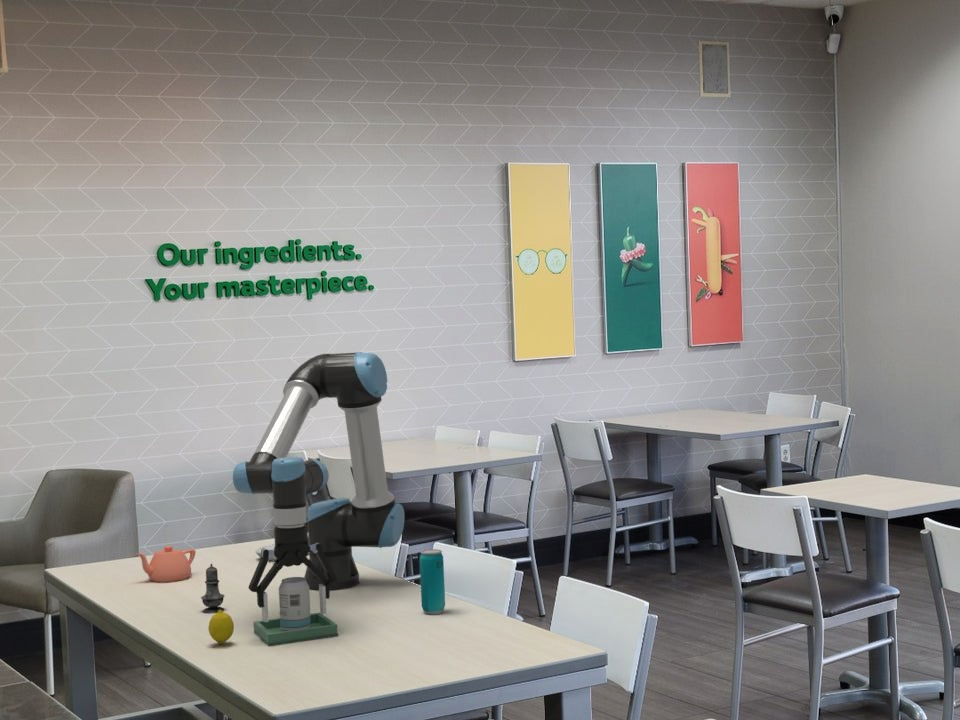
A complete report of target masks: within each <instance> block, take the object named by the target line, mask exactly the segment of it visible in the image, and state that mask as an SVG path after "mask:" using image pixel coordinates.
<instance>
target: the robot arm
mask: <svg viewBox="0 0 960 720" xmlns="http://www.w3.org/2000/svg"><path fill="white" fill-rule="evenodd" d="M387 383H388V375H387V370H386V367H385V365H384V362H383V360H382V359H381V358H380V357H379V356H378V354H375V353H372V352H361V351H357V352H341V353H321V354H318V355H314V356H313V357H311V358H308V359H307V360H306V361H304V362H303V363H302V364H301V365H299V366H298V367H297V368H296V369H295V370H294V371H293V372H292V374H291V375H290V376H289V377H288V379H287V380H286V382H285V384H284V386H283V390H282V393H283V396H282V399H281V401H280V402H279V404H278V406H277V408H276V410H275V412H274V414H273V416H272V418H271V421H270V422H269V424H268V426H267V428H266V429H265V431H264V433H263V436H262V437H261V440H260V441H259V443H258V445H257V446H256V449H255V451H254V452H253V455H252V456H251V458H250V459H249V461H246V460H245V461H242V462H241V461H240V462H239V463H237V464H236V465H235V467H234V468H233V471H232V484H233V485H234V488H235V490H236V491H237V492H239V493H242V494H252V495H255V494H272V498H273V499H272V501H273V504H272V505H273V524H274V525H275V527H274V528H273V530H274V544H275V547H274V549H265V548H263V549H262V550H261V558H259V562H258V563H257V566H256V568H255V571H254V572H253V575H252V578H251V580H250V582H249V584H248V587H247V588H248V590H250V592H251V593H256V603H257V606H258V607H259V609H260V608H261V617H262V618H261V619H262V620H263V621H264V622H269V621H268V620H269V601H268V592H266V590H267V588H268V587H269V585H270V584H271V583H272V581H273V580H274V579H275V577H276V576H277V574H278V573H279V572H280V570H282V568H283V567H287V568H288V567H293V566H296V567H297V566H298V567H299V566H301V565H302V564H304V565H305V567H306V569H305V573H304V578H306V581H307V583H308V585H309V590H310V589H311V590H317V591H318V592H319V593H318V597H319V613H321V614H323V615H327V600H328V599H330V595H331V594H330V592H331V591H330V590H339V589H340V590H341V589H346V588H350V587H354V586H357V585H359V584H360V573H359V570H358V567H357V565H356V562H355V559H354V557H353V548H358V547H359V548H379V549H382V548H392V547H394V546H396V545H397V544H398V543H399V541H400V539H401V537H402V535H403V532H404V527H405V509H404V507H403V505H402V504H400V503H396V500H395V496H394V494H393V493H392V492H390V491H389V490H388V489H389V488H388V481H387V475H386V466H385V461H384V460H385V459H384V453H383V452H384V451H383V444H382V438H381V436H382V435H381V429H380V422H379V421H380V420H379V415H378V414H379V413H378V406H379V405H380V404H381V402H382V400H383V398H382V397H384V396H385V394H386V393H387V390H388V384H387ZM326 398H327V399H329V398H331V399H332V398H334V399H335V398H336V400H337V407H338V408H339V409H340V410H342V411H344V417H345V424H346V431H347V438H348V446H349V453H350V460H351V467H352V474H353V475H352V476H353V481H354V488H355V490H354V491H355V496H354V497H353V498H352V500H351V499H350V498H349V497H342V498H341V497H339V498H333V499H327V500H322V501H318V502H315V503H313V504H311V505H310V506H308V508H307V495H309V494H313V493H316V492H318V491H320V490H321V489H323V488H325V486H326V485H327V484H328V481H329V475H330V474H329V470H328V468H327V466H326V465H325V464H324V462H322V461H320V460H317V459H308V460H306V461H304V459H303V458H302V457H300V456H299V457H298V456H288V454H289V453H290V451H291V448H292V447H293V444H294V442H295V440H296V439H297V436H298V434H299V433H300V430H301V428H302V426H303V424H304V422H305V420H306V418H307V416H308V414H309V412H310V410H311V409H313V408H315V407H316V406H317V405H318V404H319V403H318V402H319V400H321V399H326ZM306 523H307V524H306ZM308 536H309V538H308ZM273 554H274V555H275V557H276V558H277V559H276V561H273V564H272V566H271V567H270V568H269V570H268V571H267V573H266V575H264V571H265V569H266V567H267V565H268V562H269V561H268V559H270V558H271V556H272V555H273ZM308 555H309V558H308ZM263 575H264V577H263ZM262 577H263V578H262ZM261 579H262V580H261ZM262 620H261V621H262Z"/></svg>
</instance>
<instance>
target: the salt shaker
mask: <svg viewBox="0 0 960 720" xmlns="http://www.w3.org/2000/svg"><path fill="white" fill-rule="evenodd" d="M209 565H210V566H209V567H208V568H206V570H205V581H204V583H205V589H206V591H205V594H204V595H202V596H201V597H200V599H201V601H202V605H204V606H205V608H204V609H203V610H202V613H205V614H216V613H217V612H218V611H219V610H220V609H221V610H222V611H223V612H224V610H225V609H224V607H223V606H221V605H222V604H223V603H224V598H225V594H222V593H220V590H219V589H220V588H219V582H220V580H219V578H218V576H219V575H218V568H217V567H216V566H215V567H214V566H213V563H210V564H209Z"/></svg>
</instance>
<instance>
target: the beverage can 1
mask: <svg viewBox="0 0 960 720" xmlns="http://www.w3.org/2000/svg"><path fill="white" fill-rule="evenodd" d="M278 596H279V597H278V602H279V618H280V628H281V629H282V630H283V631H290V630H297V629H304V628H310V627H311V618H310V614H311V601H310V599H311V598H310V589H309V585H308V583H307V581H306V578H304V577H302V576H301V577H300V576H293V577H291V576H290V577H285V578H282V579H281V583H280V585H279V586H278Z"/></svg>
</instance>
